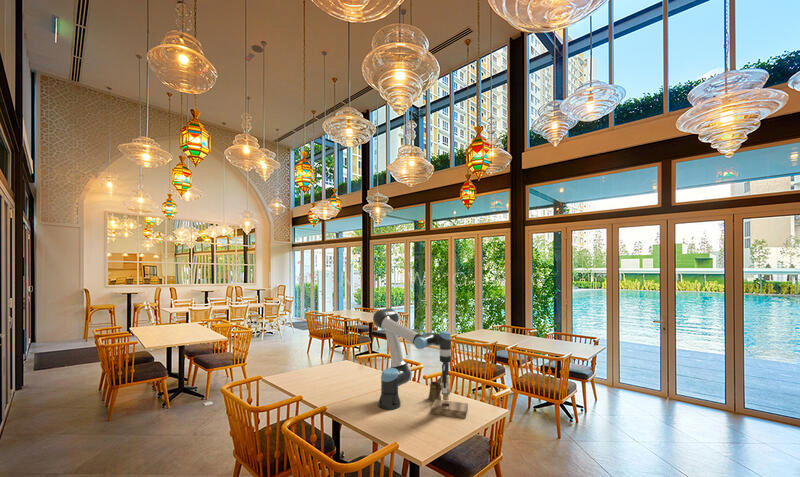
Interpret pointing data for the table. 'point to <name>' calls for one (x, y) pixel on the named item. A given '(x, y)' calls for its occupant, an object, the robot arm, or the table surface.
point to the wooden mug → (435, 390)
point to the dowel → (446, 395)
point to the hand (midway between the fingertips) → (445, 391)
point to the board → (449, 408)
